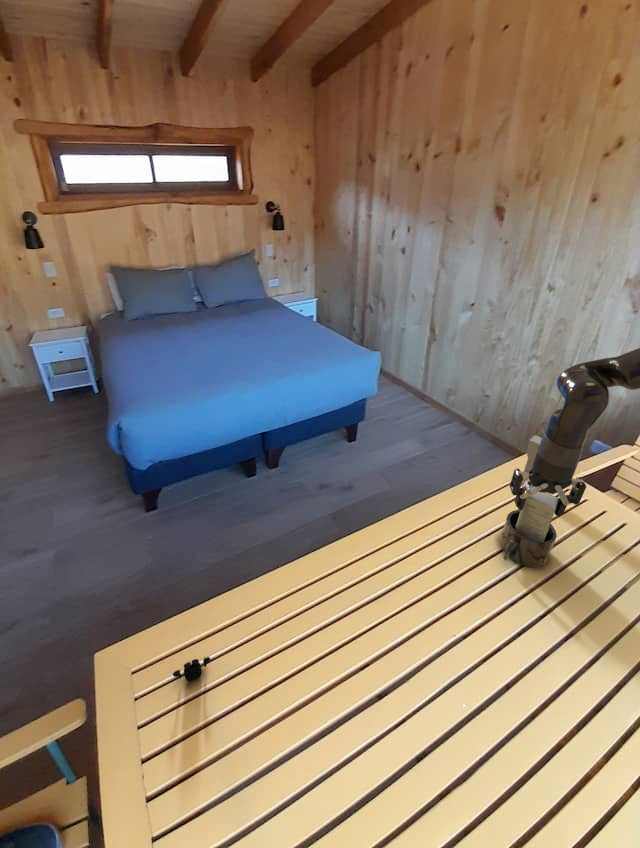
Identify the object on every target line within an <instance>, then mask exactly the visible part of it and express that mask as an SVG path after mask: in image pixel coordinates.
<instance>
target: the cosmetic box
mask: <svg viewBox="0 0 640 848" xmlns="http://www.w3.org/2000/svg"><path fill="white" fill-rule="evenodd" d="M559 498H560V497H559V496H556V495H554V494H550V493H547V492H544V493H542V492H537V493H536V494H534V495H529V496H528V497H526V500H525V503H524V506H523V509H522V510H521V511H520V514H519V518H518V521H517V524H516V528H515V530H516V532H517V533H519V534H520V535H522V536H523V537H525V538H527V539H529V540H532V541H536V542H544V540H545V538H546V535H547V532H548V529H549V527H550V524H552V520H553V518H554V515H555V513H554V512H555V509H556V506H557V503H558V500H559Z"/></svg>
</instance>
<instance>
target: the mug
mask: <svg viewBox="0 0 640 848" xmlns="http://www.w3.org/2000/svg"><path fill="white" fill-rule="evenodd" d="M520 511H521V510H518V509H516V510H512V511H510V512H509V513H508V514H507V516H506V519H505V523H504V525H503V528H502V532H501V534H500V537H499V545H500V548H501V550H502V551H503V557H502V558H503V560H504V561H509V560H512V561H513V562H515V563H516V564H518V565H521V566H524V567H527V568H540V567H543V566H544V565H546V563H547V561H548V559H549V558H550V557H549V556H550V555H551V552H552V549H553V547H554V544H555V542H556V539H557V531H556V529H555V527H554V525H552V523H551V524H550V527H549V529H548V532H547V535H546V538H545V540H544V542H536V541H532V540H529V539H527V538H525V537H523V536H522V535H520V534H519V533H517V532H516V530H515V528H516V524H517V521H518V518H519V514H520Z"/></svg>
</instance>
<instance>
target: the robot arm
mask: <svg viewBox="0 0 640 848" xmlns="http://www.w3.org/2000/svg"><path fill="white" fill-rule="evenodd" d="M556 387H557V390H558V391H559V393H560V395H561V396H562V398H563V399H564V403H563V407H562V408H558V409H556V410H554V411H553V412H552V413H551V415H550V417H549V420H548V422H547V425H546V429H545V431H544V434H543V436H542V437H541V438H542V439H541V442H540V444H539V446H538V450H537V453H536V456H535V459H534V462H533V466H532V469H531V470H530V471H529V472H524V471H522V470H521V469H520V468H515V469H514V470H513V474H512V477H511V480H510V484H509V489H510V491H511V495H512V496H515V499H514V504H515V507H516V508H517V510H522V509H523V506H524V503H525V500H526V497H528V496H529V495H534V494H536V493H537V492H542V493H544V492H545V493H548V494H550V495H555V494H557V495H558V498H559V500H558V503H557V506H556V509H555V512H554V515H555V516H556V517H561V515H563V514H564V513H565V511H566V509H567V506H569V505H570V504H572V505H575V506H576V505H579V504H580V503H581V500H582V498H583V496H584V494H585V491H586V490H587V484H586V482H585V481H584V479H583V478H582V477H581V476H577V477H576V478H573V477H574V475H575V473H576V470H577V468H578V465H579V462H580V460H581V457H582V456H583V450H584V446H585V444H586V441H587V438H588V437H589V433H590V430H591V428H593V426H595V424H596V423H597V422H598V421H599V419H600V418H601V417H602V416H603V415H604V413H606V410H607V409H608V407H609V403H610V399H611V393H610V390H609V388H612V387H622V388H625V389H627V390H630V391H637V390H640V347H638V348H635V349H633V350H630V351H628V352H625V353H623V354H620V355H618V356H612V357H606V358H600V359H595V360H594V359H593V360H589V361H585V362H581V363H577V364H575V365H572V366H570V367H568V368H566V369H565V370H563V371H562V372H561V373H560V374H559V375H558V377H557V379H556ZM526 478H529V479H528V480H527V481H525V482H524V480H525V479H526ZM522 482H524V485H522V486H521V483H522ZM532 485H533V486H534V487H533V488H532ZM520 486H521V487H520ZM570 486H572V487H571V490H570V491H569V494H565V492H564V490H565V489H567V488H569V487H570Z"/></svg>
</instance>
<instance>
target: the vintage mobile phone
mask: <svg viewBox="0 0 640 848" xmlns="http://www.w3.org/2000/svg"><path fill="white" fill-rule="evenodd" d="M541 439H542V437H541V436H538V435H537V434H535V435H534V436H532V437H531V438H530V439H529V442H528V447H527V452H526V456H527V460H526V463H525V466H524V469H523V472H529V471H530V470H531V469H532V466H533V462H534V459H535V456H536V453H537V450H538V446H539V444H540V442H541ZM528 479H529V478H526V479H525V480H524V482H525V481H527V480H528ZM524 482H522V483H521V486H522V485H524ZM521 486H520V487H521ZM533 487H534V486H533V485H532V488H533Z"/></svg>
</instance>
